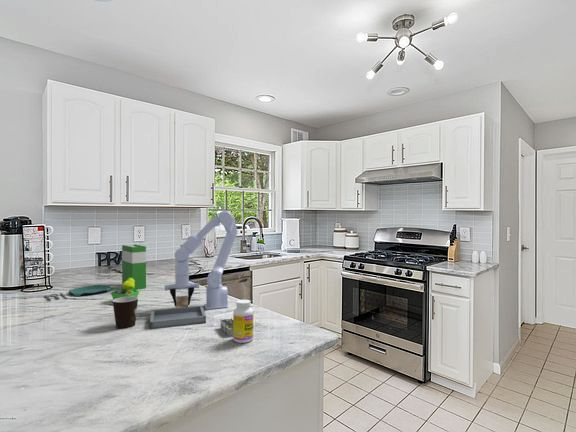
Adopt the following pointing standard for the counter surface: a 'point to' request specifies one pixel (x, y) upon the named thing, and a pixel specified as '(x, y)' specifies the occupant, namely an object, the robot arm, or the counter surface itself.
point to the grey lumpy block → (227, 326)
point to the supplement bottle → (243, 322)
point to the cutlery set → (84, 291)
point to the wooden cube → (181, 301)
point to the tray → (177, 317)
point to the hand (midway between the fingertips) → (182, 305)
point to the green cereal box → (134, 265)
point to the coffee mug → (125, 311)
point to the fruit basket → (126, 290)
